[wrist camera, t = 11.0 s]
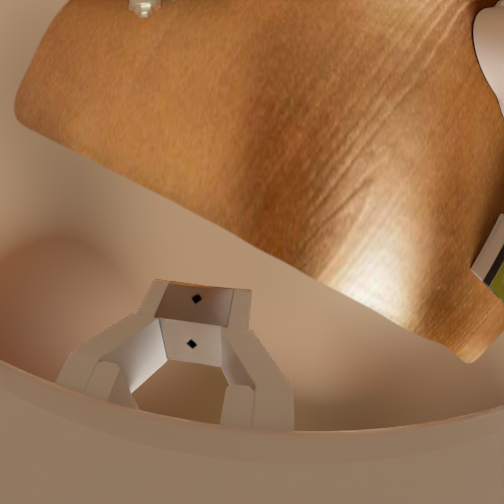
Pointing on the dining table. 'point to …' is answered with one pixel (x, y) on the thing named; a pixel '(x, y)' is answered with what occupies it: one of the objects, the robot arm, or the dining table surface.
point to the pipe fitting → (144, 7)
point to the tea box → (492, 260)
